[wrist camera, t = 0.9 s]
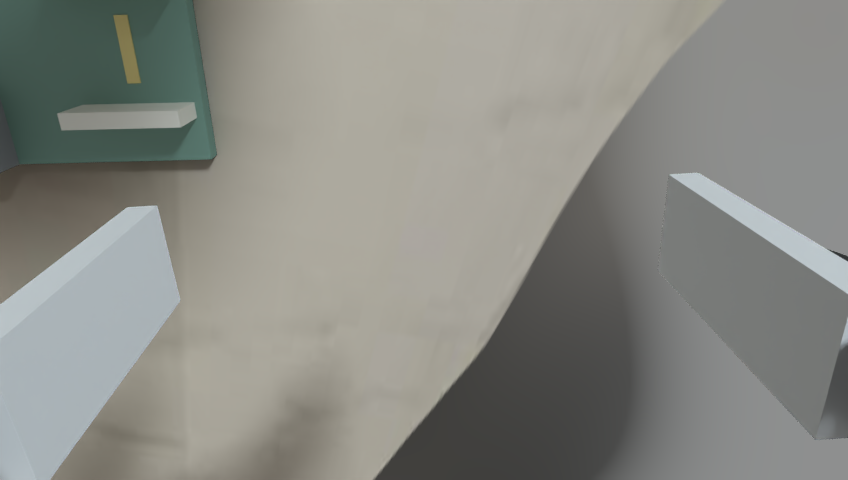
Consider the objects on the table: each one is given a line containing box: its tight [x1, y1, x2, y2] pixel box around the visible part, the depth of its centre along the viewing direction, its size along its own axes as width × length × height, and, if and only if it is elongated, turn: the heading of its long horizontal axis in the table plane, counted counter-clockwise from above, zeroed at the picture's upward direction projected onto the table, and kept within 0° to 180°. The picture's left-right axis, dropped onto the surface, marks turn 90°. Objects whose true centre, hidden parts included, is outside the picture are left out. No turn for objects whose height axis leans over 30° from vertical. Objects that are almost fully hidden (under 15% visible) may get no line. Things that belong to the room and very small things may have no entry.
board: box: [0, 0, 217, 173], centre depth 35 cm, size 12×22×4 cm, turn 91°
